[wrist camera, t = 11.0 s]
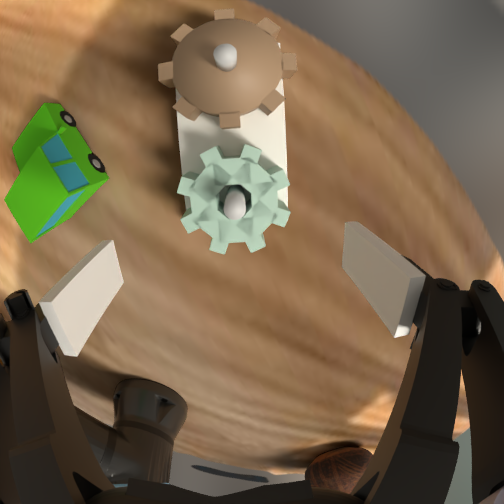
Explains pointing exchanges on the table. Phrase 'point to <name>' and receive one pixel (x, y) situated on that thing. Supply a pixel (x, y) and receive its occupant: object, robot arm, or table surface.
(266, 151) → the gear board
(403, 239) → the table surface
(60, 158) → the toy car
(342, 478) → the brown wooden bulbous vase
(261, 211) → the loose gear
